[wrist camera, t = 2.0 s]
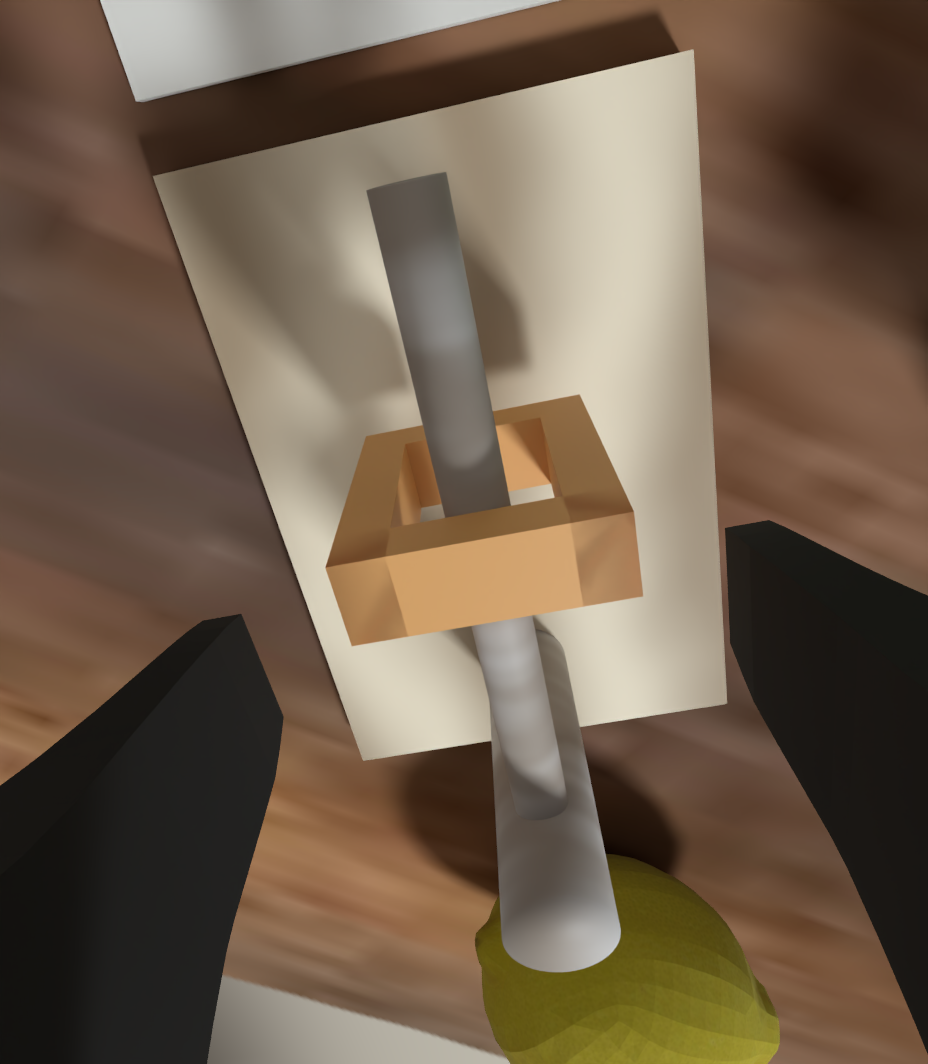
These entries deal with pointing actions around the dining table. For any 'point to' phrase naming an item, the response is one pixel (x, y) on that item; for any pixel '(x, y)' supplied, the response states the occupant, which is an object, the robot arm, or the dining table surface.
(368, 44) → the grey mat
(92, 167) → the dining table surface
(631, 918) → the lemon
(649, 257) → the hook stand
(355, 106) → the dining table surface
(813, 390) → the dining table surface
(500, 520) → the c link
